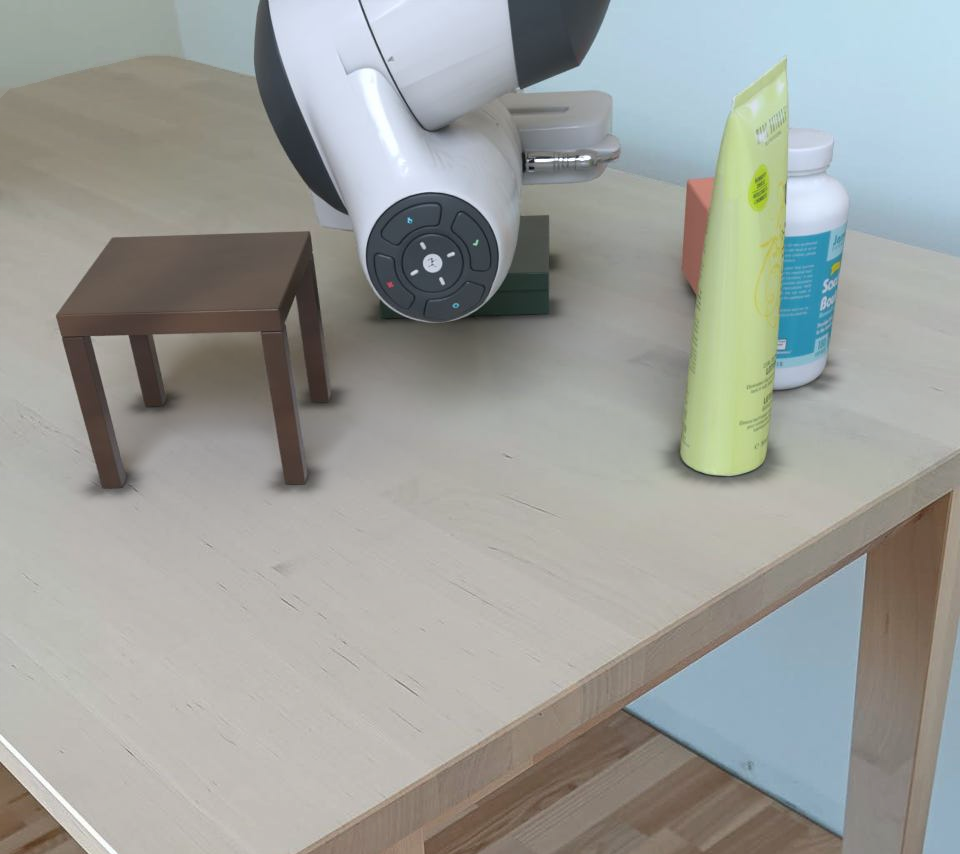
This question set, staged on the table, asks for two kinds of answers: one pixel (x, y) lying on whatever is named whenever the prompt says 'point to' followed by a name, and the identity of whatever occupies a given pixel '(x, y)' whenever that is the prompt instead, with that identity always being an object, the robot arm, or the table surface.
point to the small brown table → (196, 322)
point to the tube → (740, 286)
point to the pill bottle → (809, 258)
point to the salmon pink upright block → (695, 227)
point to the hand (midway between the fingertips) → (462, 104)
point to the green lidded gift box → (518, 275)
